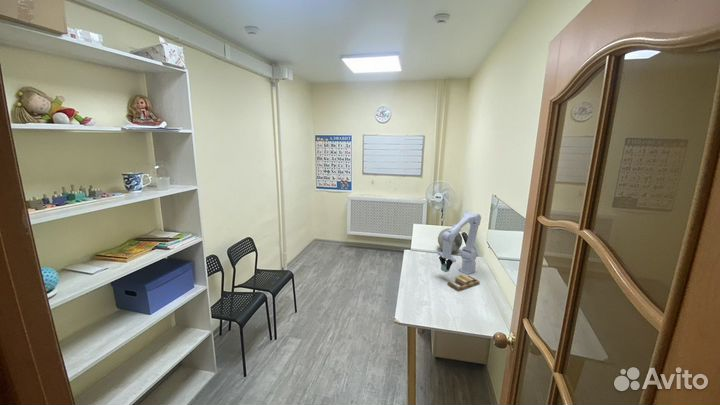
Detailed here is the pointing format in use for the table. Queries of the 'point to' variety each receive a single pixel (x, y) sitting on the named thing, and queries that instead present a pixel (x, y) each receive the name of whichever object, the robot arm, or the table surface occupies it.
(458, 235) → the moon model
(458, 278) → the oak slab
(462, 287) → the walnut frame
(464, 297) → the table surface
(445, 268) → the teal block
